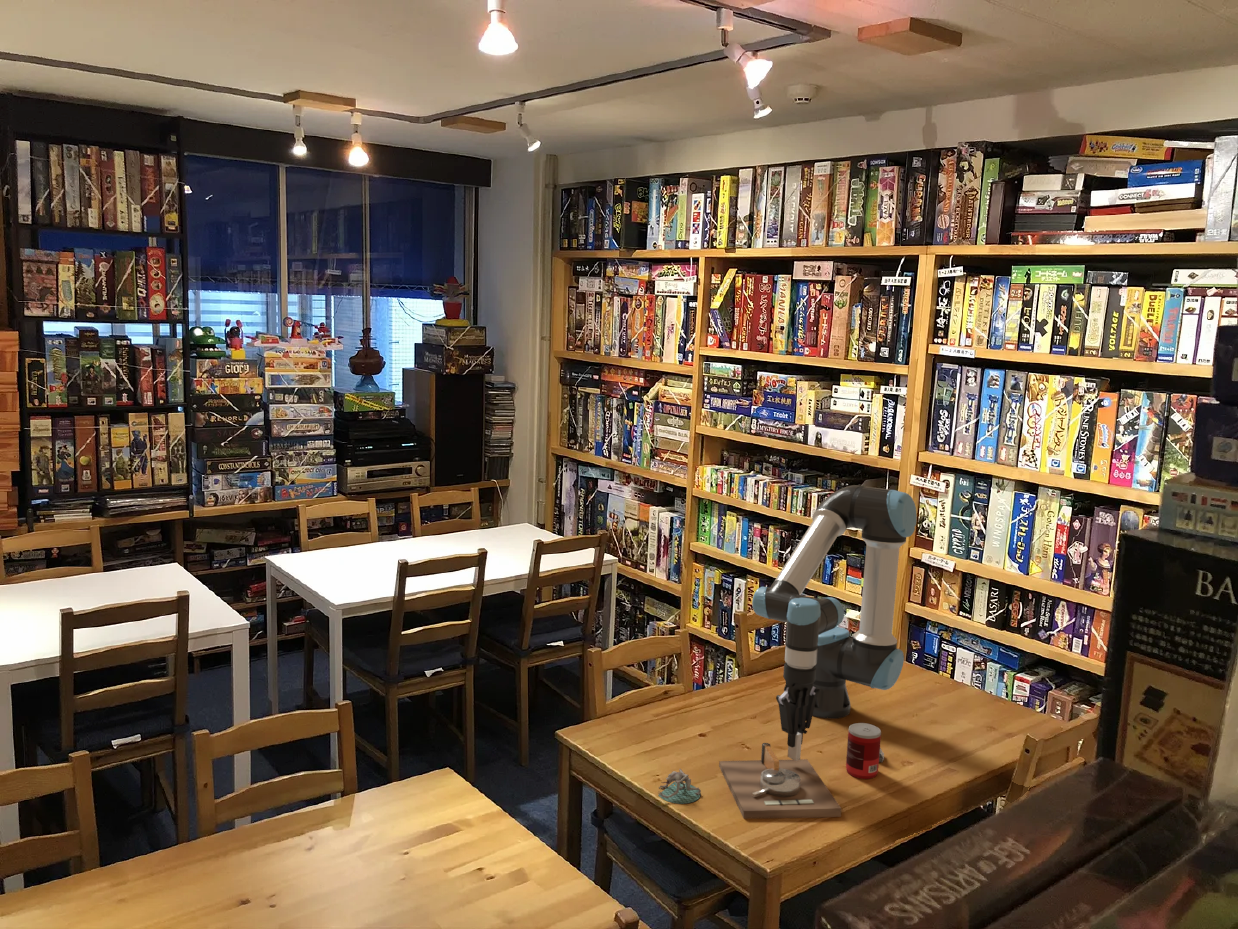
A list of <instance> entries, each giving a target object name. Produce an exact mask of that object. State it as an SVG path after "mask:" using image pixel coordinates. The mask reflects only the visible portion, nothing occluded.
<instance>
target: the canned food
mask: <svg viewBox="0 0 1238 929" xmlns="http://www.w3.org/2000/svg"><path fill="white" fill-rule="evenodd" d="M881 740H882V731H881V729H880V728H879V727H878V726H875V725H874V724H870V723H865V722H858V723H853V724H850V725H849V727H848V731H847V746H846V760H845V768H846V769H845V770H846V772H847V773H848V775H850V776H852V777H853V778H857V779H861V780H870V779H874V778H876V777H877V775H878V773H879V765H880V764H879V763H880V762H879V754H880V748H881V743H882V742H881Z"/></svg>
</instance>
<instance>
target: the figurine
mask: <svg viewBox="0 0 1238 929" xmlns="http://www.w3.org/2000/svg"><path fill="white" fill-rule="evenodd" d="M678 770H679V771H678V772H677V771H674V770H673V771H672V772H671V773H669V774H668V776H667V777H666V778H665V780H666V781H663V782H662V781H661V783H662V784H665V785H660V786H658V789H661V790H662V791H658V792H657V794H658V797H659V798H661V799H662V800H663V801H666V802H668V803H671V804H674V805H675V804H677V805H690V804H693V803H696V802H698V801H699V800H700V798H701V796H702V794H701V792H702V790H701V788H699V787H696V786H694V785H692V779H690V777H689V774H687V773H685V772H684V771H683V770H682V769H681V768H679V769H678ZM674 785H675V786H674ZM663 789H664V790H663Z"/></svg>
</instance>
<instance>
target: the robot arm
mask: <svg viewBox="0 0 1238 929" xmlns="http://www.w3.org/2000/svg"><path fill="white" fill-rule="evenodd" d="M811 518H812V522H811V524H810V525H809V526H808V528H807V530H806V531H805V533H804V534H803V535H802V537H801V539H800V540H799V542H798V544H797V546H796V547H795V549H794V551H792V553H791V555H790V556H789V558H788V560H786V563H785V564H784V566H783V567H782V568H781V570H780V572H779V574H778V575H777V577H776V578H775V580H774V581H773V583H772V584H771V585H770V587H769V586H760V587H758V588H757V589H756V591H755V592H754V594H753V596H752V600H751V601H752V602H751V604H752V610H753V612H754V613H755V615H757V616H759V617H762V618H765V619H768V620H772V621H773V620H774V621H779V622H783V623H786V633H785V651H784V661H785V663H784V665H783V675H782V676H783V679H784V681H785V686H784V688H783V693H782V694H781V695H779V694H777V695H776V696H775V697H776V698H775V699H776V701H777V704H778V710H779V718H780V727H781V731H783V732H785V733H787V741H786V742H787V744H786V745H787V758H789V759H790V760H795V761H797V760H800V759H801V753H802V752H801V751H802V745H803V738H804V735H805V734H807V733H808V730H806V729H810V727H811V724H812V719H813V717H815V718H820V719H828V720H829V719H830V720H832V719H834V720H835V719H842V718H845V717H847V716H849V715H850V713H851V707H852V706H851V701H850V700H851V699H850V696H849V692H848V689H847V684H846V682H847V681H849V682H852V683H854V684H859V685H861V686H862V685H863V686H866V687H869V688H871V689H879V690H881V691H887V690H890V689H892V687H894V686H895V685H896V683H897V681H898V679H899V677H900V675H901V673H902V669H903V665H904V661H905V656H904V655H905V654H904V652H903V650H902V649H900V648H898V647H897V646H898V639H897V638H896V637H895V636H894V635H893V628H894V627H893V625H894V613H895V603H896V594H897V593H896V592H897V583H898V582H897V579H898V570H899V560H900V559H899V556H900V548H901V547H902V546H903V545H904V544H906V542H907V538H909V537H911V536H913V534H914V532H915V530H916V528H915V527H916V526H917V518H918V517H917V507H916V504H915V501H914V499H913V497H912V496H911V495H910V494H909V493H907V492H905V491H904V492H903V491H900V490H895V489H887V488H881V487H874V486H873V487H872V486H863V485H859V484H858V485H855V484H853V485H848V486H846V487H842V488H840V489H838V490H836V491H835V492H833V493H831V494H830V495H828V496H827V497H826V498H825V499H824V500H822V501H821V502H820V504H819V505H818V506H817V507H816V509H815V511H813V514H812V517H811ZM852 528H853V529H859V530H861V536H860V538H861V540H863V542H865V544H866V548H865V559H864V570H863V582H862V584H863V585H862V593H861V594H862V595H861V604H860V605H861V606H860V620H859V628H858V630H857V631H856V632H854V633H853V635H852V637H850V635H851V634H850V631H849V629H847V628H844V627H838V626H839V625H841V624H842V622H843V621H844V617H845V610H844V607H843V605H842V603H841V602H840V601H839V600H838V599H837V598H835V597H832V596H830V597H829V596H828V597H822V598H815V597H813V596H812V597H811V596H807V595H802V594H803V593H804V591H805V589H806V587H807V586H808V584H809V583H810V581H811V579H812V577H813V576H814V574H816V572H817V570H818V568H819V567H820V564H821V563H822V562H823V560H824V559H825V557H826V556H827V553H828V552H829V551H830V549H831V547H832V545H833V544H834V543H835V541H836V539H838V538H837V537H840V536H843V535H844V534H845V532H846V530H847V529H852Z"/></svg>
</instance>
